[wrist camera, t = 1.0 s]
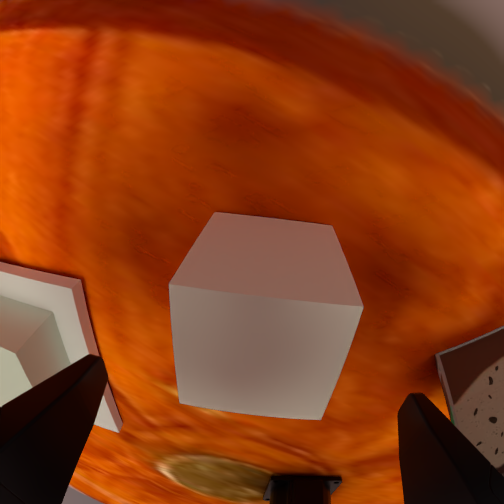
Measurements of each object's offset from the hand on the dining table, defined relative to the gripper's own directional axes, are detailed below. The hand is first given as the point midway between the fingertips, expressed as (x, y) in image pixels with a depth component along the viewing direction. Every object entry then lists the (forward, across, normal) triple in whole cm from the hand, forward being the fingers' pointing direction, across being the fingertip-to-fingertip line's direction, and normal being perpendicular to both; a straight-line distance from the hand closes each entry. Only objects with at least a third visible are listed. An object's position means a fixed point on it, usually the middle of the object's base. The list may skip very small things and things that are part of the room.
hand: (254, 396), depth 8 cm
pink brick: (+7, 0, 0) cm, 7 cm away
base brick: (+6, +17, +9) cm, 20 cm away
